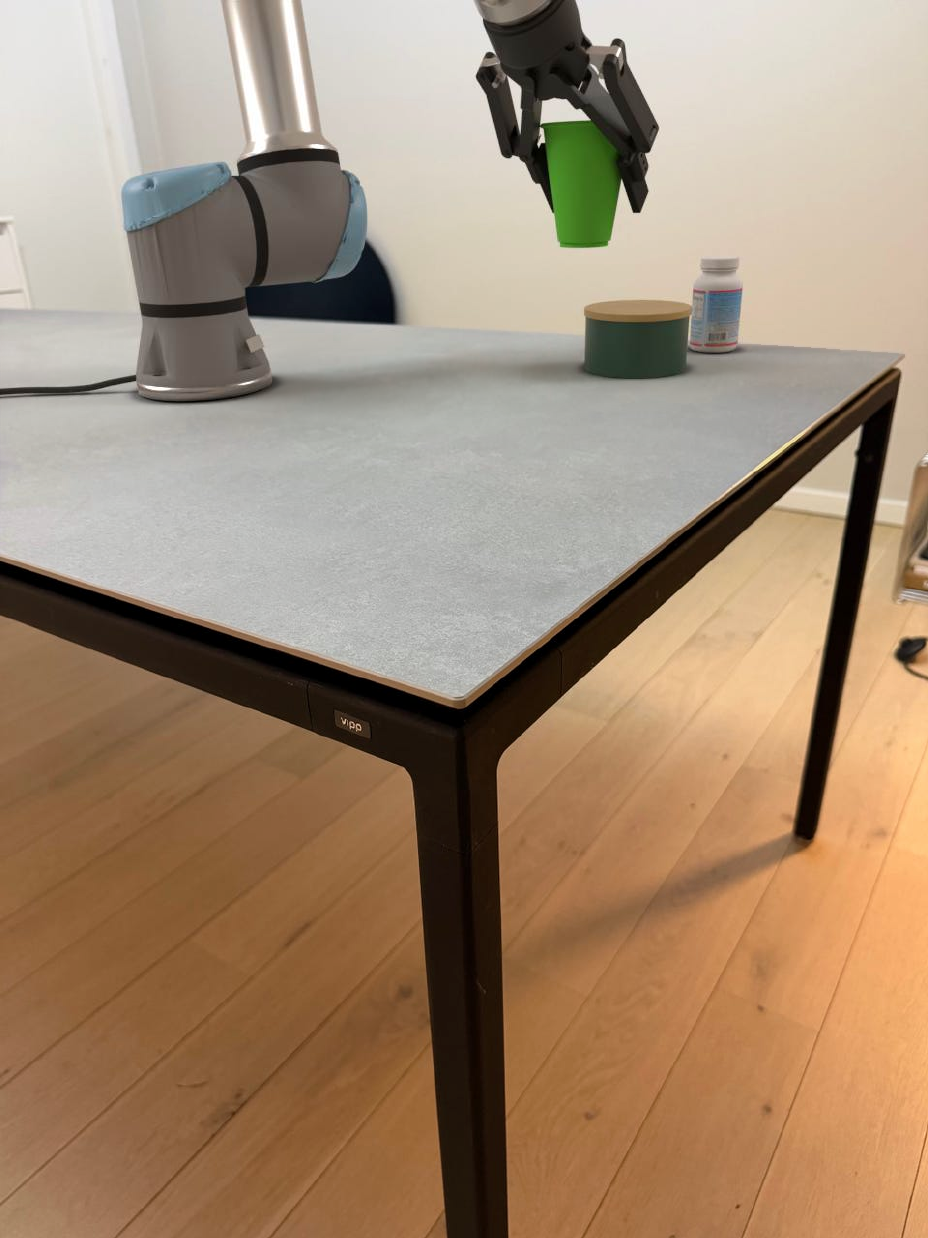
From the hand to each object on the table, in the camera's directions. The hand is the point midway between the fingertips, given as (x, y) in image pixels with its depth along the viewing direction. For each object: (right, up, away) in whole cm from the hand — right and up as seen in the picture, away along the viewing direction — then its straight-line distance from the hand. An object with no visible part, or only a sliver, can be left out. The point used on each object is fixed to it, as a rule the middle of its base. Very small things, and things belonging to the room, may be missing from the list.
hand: (599, 202), depth 94 cm
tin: (+7, -12, +17) cm, 22 cm away
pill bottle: (+19, -8, +26) cm, 33 cm away
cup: (-2, -5, -1) cm, 5 cm away
